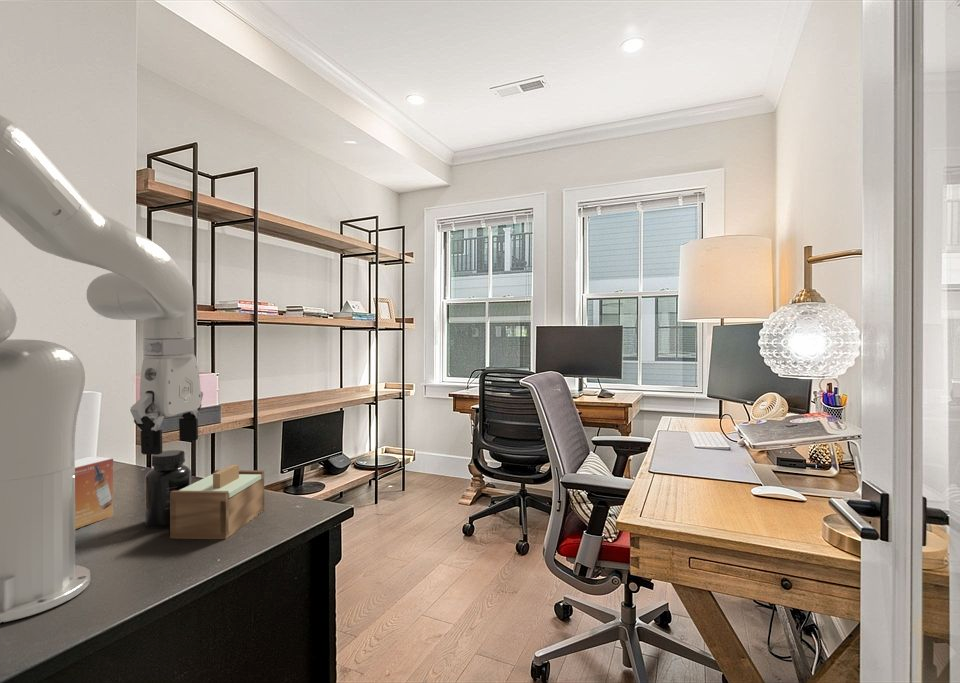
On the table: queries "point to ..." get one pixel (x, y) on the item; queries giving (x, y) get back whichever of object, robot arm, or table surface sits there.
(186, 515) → the brown wooden box
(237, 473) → the lid
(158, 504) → the supplement bottle
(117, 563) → the table surface
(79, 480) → the small box
